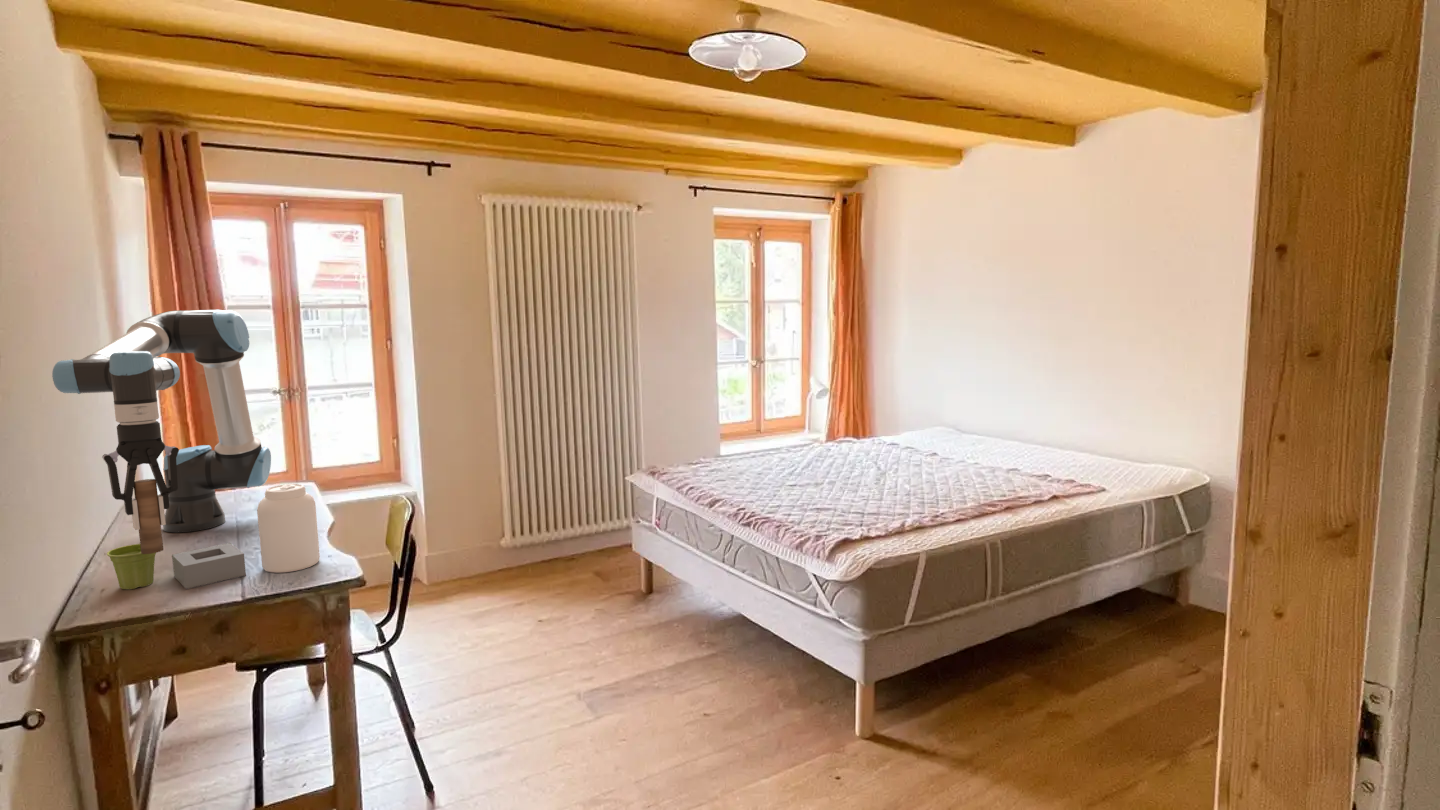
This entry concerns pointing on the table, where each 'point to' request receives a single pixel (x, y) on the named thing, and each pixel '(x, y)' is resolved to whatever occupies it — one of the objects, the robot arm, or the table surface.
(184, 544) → the table surface
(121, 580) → the plant pot
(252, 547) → the table surface
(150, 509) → the dowel
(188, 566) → the box
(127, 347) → the robot arm
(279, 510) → the can
